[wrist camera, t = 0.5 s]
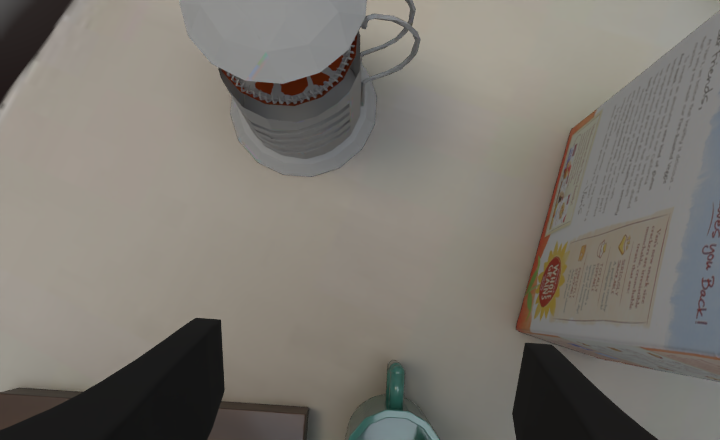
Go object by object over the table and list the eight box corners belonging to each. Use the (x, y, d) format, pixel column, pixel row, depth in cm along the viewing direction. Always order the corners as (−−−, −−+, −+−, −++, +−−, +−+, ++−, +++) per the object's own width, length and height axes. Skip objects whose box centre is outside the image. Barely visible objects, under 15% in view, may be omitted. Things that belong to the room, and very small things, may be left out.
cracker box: (603, 360, 35) (951, 438, 15) (510, 329, 36) (725, 362, 15) (657, 154, 37) (1031, -33, 17) (569, 126, 38) (830, -93, 17)
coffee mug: (429, 485, 34) (443, 519, 29) (342, 479, 34) (339, 512, 29) (435, 360, 35) (449, 370, 30) (350, 354, 35) (349, 363, 30)
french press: (223, 45, 38) (-18, -430, 14) (393, 25, 39) (458, -475, 14) (237, 185, 37) (-6, -60, 12) (413, 164, 37) (526, -119, 12)
